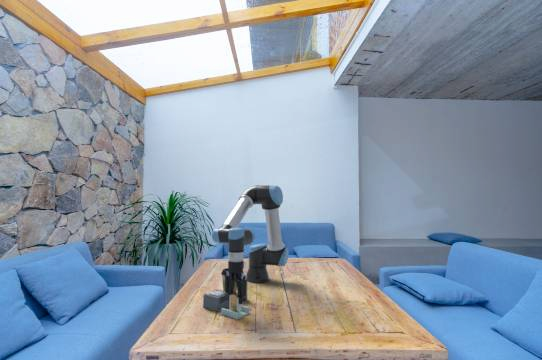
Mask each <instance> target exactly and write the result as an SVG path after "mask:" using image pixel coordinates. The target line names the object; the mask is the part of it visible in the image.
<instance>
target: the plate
mask: <svg viewBox="0 0 542 360" xmlns="http://www.w3.org/2000/svg"><path fill="white" fill-rule="evenodd" d="M218 290H219V289H218ZM218 290H217V291H216V290H215V291H211V292H209V293H208V294H209V295H213V296H216V297H220V298H221V297H223V296H226V293H225V292H222V291H223V290H222V291H218Z"/></svg>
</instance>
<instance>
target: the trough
mask: <svg viewBox="0 0 542 360" xmlns="http://www.w3.org/2000/svg"><path fill="white" fill-rule="evenodd" d="M250 309H251V308H250V307H249V306H246V305H243V304H242V310H240V311H239V313H238V312H235V311H231V309H228V308H222V309H221V310H220V311H221V313H220V315H222V316H225V317H227V318H231V319H234V320H239V319H241V318H244V317H245V316H247V315H249V314H250Z"/></svg>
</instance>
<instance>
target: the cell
mask: <svg viewBox="0 0 542 360" xmlns="http://www.w3.org/2000/svg"><path fill="white" fill-rule="evenodd" d="M237 297H238V291H236V292H234V293H231V311H235V312H238V313H239V311H237Z"/></svg>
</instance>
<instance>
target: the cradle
mask: <svg viewBox="0 0 542 360" xmlns="http://www.w3.org/2000/svg"><path fill="white" fill-rule="evenodd" d="M217 290H218V291H222V292H225V291H223V289H222V290H221V289H218V288H216V289H215V291H217ZM225 293H226V292H225ZM202 302H203V303H202V304H203V306H202V307H203V308H205V309H207V310H211V311H215V312H217V313H218V312H220V311H221V309H222V308H225V309H228V308H229V295H228V293H226V296H223V297H221V298H220V297H216V296H213V295H209V293H203V301H202Z"/></svg>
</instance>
